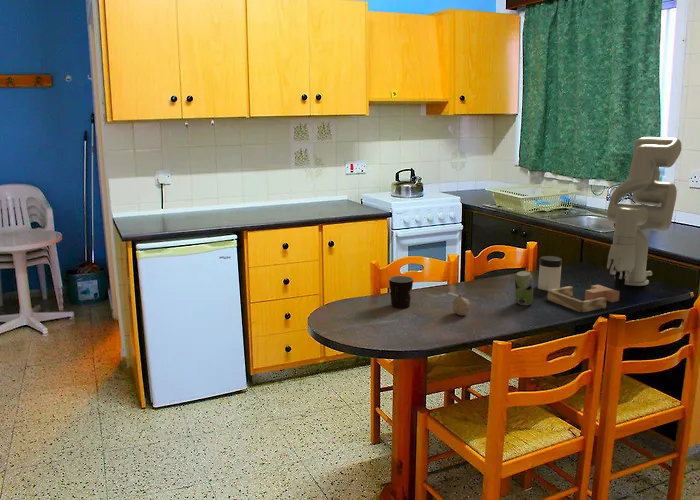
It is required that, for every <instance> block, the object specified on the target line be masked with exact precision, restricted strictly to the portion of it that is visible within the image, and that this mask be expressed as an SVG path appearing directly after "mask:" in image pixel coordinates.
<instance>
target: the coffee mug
mask: <svg viewBox="0 0 700 500" xmlns="http://www.w3.org/2000/svg"><path fill="white" fill-rule="evenodd" d="M388 283H389V293H390V304H391V307H392V308H393V309H397V310H398V309H399V310H402V309H403V310H404V309H408V308H409V307H410V304H411V299H412V298H411V297H412V292H413V284H414V278H413V277H411V276H407V275H394V276H390V277H389V278H388Z"/></svg>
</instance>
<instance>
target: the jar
mask: <svg viewBox="0 0 700 500" xmlns="http://www.w3.org/2000/svg"><path fill="white" fill-rule="evenodd" d="M562 260H563V259H562V258H561V257H559V256H553V255H545V256H540V258H539V270H538V281H537V283H538V284H537V288H538V289H539V290H542V291H547V292H548V290H550V289H556V288H561V277H562V276H561V274H562V264H563V261H562Z"/></svg>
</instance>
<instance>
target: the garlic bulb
mask: <svg viewBox="0 0 700 500" xmlns="http://www.w3.org/2000/svg"><path fill="white" fill-rule="evenodd" d="M458 295H459V296H458V297H455V298H454V299H453V301H452V306H451V307H452V311H453V312H454V313H455V314H456V315H458V316H460V317H461V316H465V315H467V314H468V313H469V311H470V308H471V303H470V300H469V299H468V300H466V299H467V298H466V299H465V297H463V296H462V295H461V294H458ZM462 297H463V298H462Z"/></svg>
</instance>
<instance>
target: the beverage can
mask: <svg viewBox="0 0 700 500" xmlns="http://www.w3.org/2000/svg"><path fill="white" fill-rule="evenodd" d="M514 280H515V281H514V282H515V283H514V284H515V301H516V303H517V304H519V305H521V306H529V305H531V304H533V302H534V285H533V283H534V282H533V275H532V274H531V272H530V271H528V270H520V271H518V272H516V275H515V276H514Z"/></svg>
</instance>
